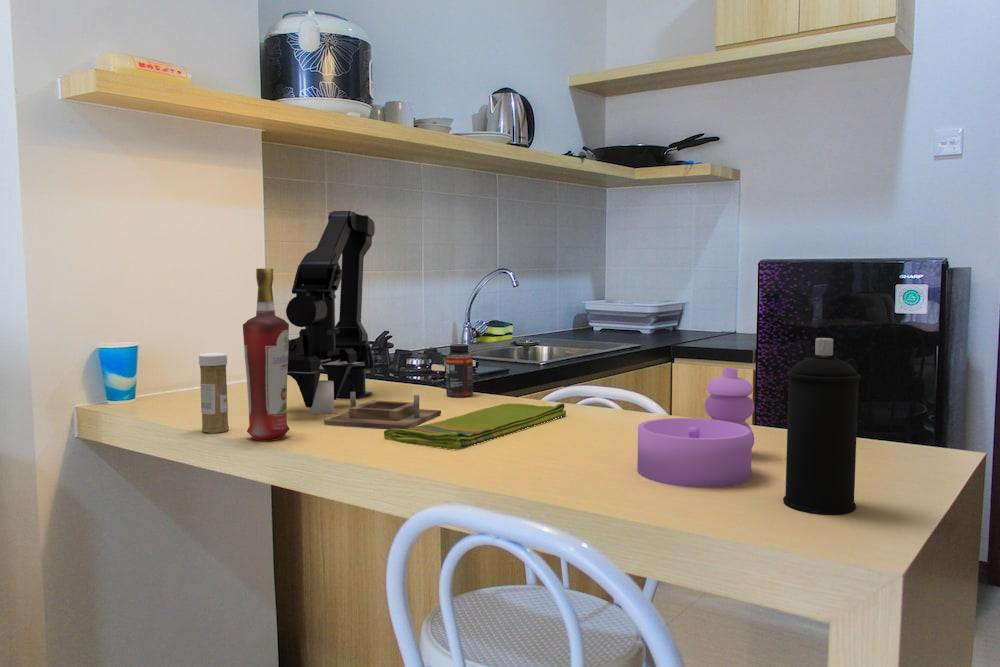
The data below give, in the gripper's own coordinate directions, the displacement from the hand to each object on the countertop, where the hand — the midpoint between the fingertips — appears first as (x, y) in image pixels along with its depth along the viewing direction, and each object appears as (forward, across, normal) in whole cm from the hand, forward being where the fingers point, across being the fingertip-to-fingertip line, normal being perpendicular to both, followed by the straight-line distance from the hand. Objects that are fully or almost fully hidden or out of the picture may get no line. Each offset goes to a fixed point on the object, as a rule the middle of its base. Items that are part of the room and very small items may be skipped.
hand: (321, 403), depth 163 cm
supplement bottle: (+2, -28, +18) cm, 33 cm away
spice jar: (+2, +22, -8) cm, 23 cm away
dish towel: (+2, +4, +34) cm, 35 cm away
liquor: (+2, +24, +4) cm, 24 cm away
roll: (+2, 0, 0) cm, 2 cm away
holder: (+2, +3, +15) cm, 15 cm away
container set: (+2, +21, +75) cm, 78 cm away
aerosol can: (+2, +37, +89) cm, 96 cm away
